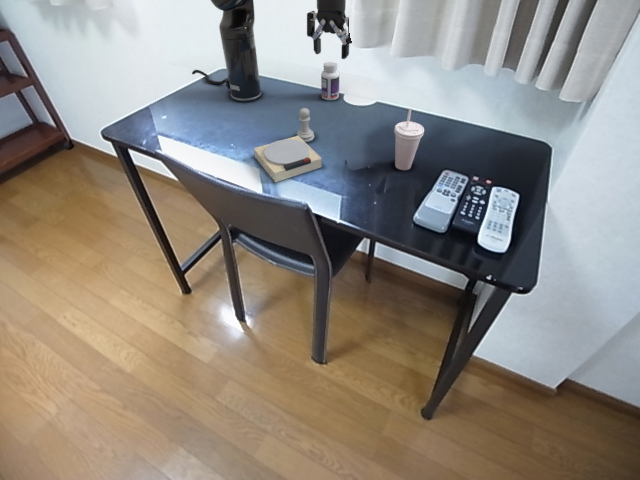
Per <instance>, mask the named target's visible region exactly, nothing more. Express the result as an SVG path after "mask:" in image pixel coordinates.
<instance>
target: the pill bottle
mask: <svg viewBox="0 0 640 480" xmlns="http://www.w3.org/2000/svg"><path fill="white" fill-rule="evenodd" d="M320 77H321V78H320V84H321V85H320V87H321V88H320V89H321V98H322V99H323V100H325V101H335V100H337V99H338V98H340V72H339V70H338V63H337V62H335V61H326V62H324V63H323V71H322V72H321V73H320Z"/></svg>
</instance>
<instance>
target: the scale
mask: <svg viewBox="0 0 640 480" xmlns="http://www.w3.org/2000/svg"><path fill="white" fill-rule="evenodd" d="M253 153H254V158H255V159H256V160H257V162H258V163H259V164H260V166H262V168H263V169H264V170H265V172H266V173H267V174H268V175H269V177H270V178H271V179H272V181H273V182H274V183H278V182H281V181H284V180H287V179H290V178H294V177H297V176H300V175H303V174H305V173H308V172H311V171H314V170H318V169H321V168H323V166H322V165H323V164H322V162H323V161H322V157H321V156H320V155H319V154H318V153H317V152H316V151H315V150H314V149H313V148H312V147H310V145H308V143H307V142H304V141H303V140H302V139H301V138H300V137H299V136H297V135H295V136H292V137H288V138H285V139H279V140H275V141H273V142H270V143H268V144H263V145H259V146H257V147H254V148H253Z"/></svg>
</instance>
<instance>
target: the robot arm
mask: <svg viewBox="0 0 640 480" xmlns="http://www.w3.org/2000/svg"><path fill="white" fill-rule="evenodd" d="M210 1H211V4H212V5H213V6H214V7H215V8H216V9H218V10H220V11H222V17H221V20H220V23H219V27H218V29H219V35H220V40H221V46H222V52H223V57H224V62H225V68H226V73H227V77H226V78H224V79H222V80H220V81H216V80H212V79H210V77H209V75H208V74H207V73H205V72H204V71H202V70H200V69H194V70H193V71H191V75H195V74H200V75H202V76H203V77H205V81H206V83H207V82H208V83H209V84H212V85H224V84H225V87H226V88H227V90H228V89H229V90H230V97H231V99H232V100H234V101H237V102H253V101H255V100H259V99H260V98H261V97H262V95H263V93H262V88H261V80H260V72H259V64H258V63H259V62H258V56H257V55H258V54H257V47H256V40H255V31H254V28H255V27H254V26H255V19H256V18H255V3H254V0H210ZM346 1H347V0H316V9H317V12H316V11H315V10H311V11H309V12H307V13H306V36H307V37H308V38H311V39H312V40H313V41H312V42H313V52H314V53H315V55H320V54H321V53H322V38H321V36H322V35H323V33H324V34H327V33H328V34H332V35H336V37H337V38H338V39H339V40H340V41H341V43H342V44H341V57H340V58H341V60H345V59H347V58H348V56H349V55H350V45H351V44H353V43H352V41H351V38H350V33H349V17H350V16H347V15H346ZM316 21H317V22H318V26H317V27H316ZM345 24H346V26H347V28H346V27H345Z"/></svg>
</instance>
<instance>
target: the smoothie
mask: <svg viewBox="0 0 640 480" xmlns="http://www.w3.org/2000/svg"><path fill="white" fill-rule="evenodd" d="M407 111H408V112H407V117H406V121H401V122H398V123H397V124H395V126H394V131H393V133H394V134H395V139H394V140H395V145H394V148H395V150H394V160H395V161H394V166H395V168H396V169H397V170H400V171H408V170H410V169H411V168H412V165H413V162H414V159H415V156H416V153H417V150H418V148H419V144H420V142H421V139H422V137H423V136H424V134H425V128H424V126H423V125H422V124H420V123H418V122H415V121H411V115H412V108H411V107H409V108H408V110H407Z"/></svg>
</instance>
